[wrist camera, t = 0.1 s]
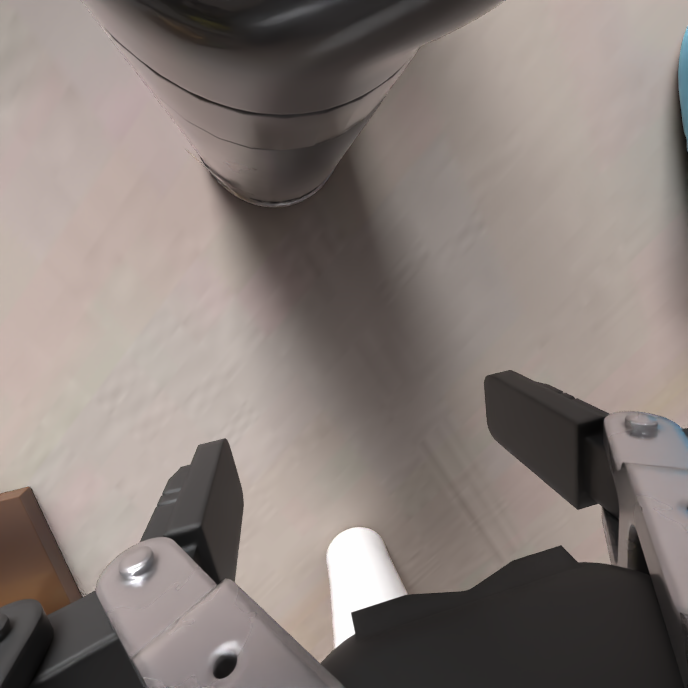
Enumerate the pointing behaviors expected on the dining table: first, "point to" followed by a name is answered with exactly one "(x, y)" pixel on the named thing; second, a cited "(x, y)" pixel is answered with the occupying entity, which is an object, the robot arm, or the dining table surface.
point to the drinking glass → (358, 577)
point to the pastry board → (31, 556)
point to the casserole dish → (684, 83)
